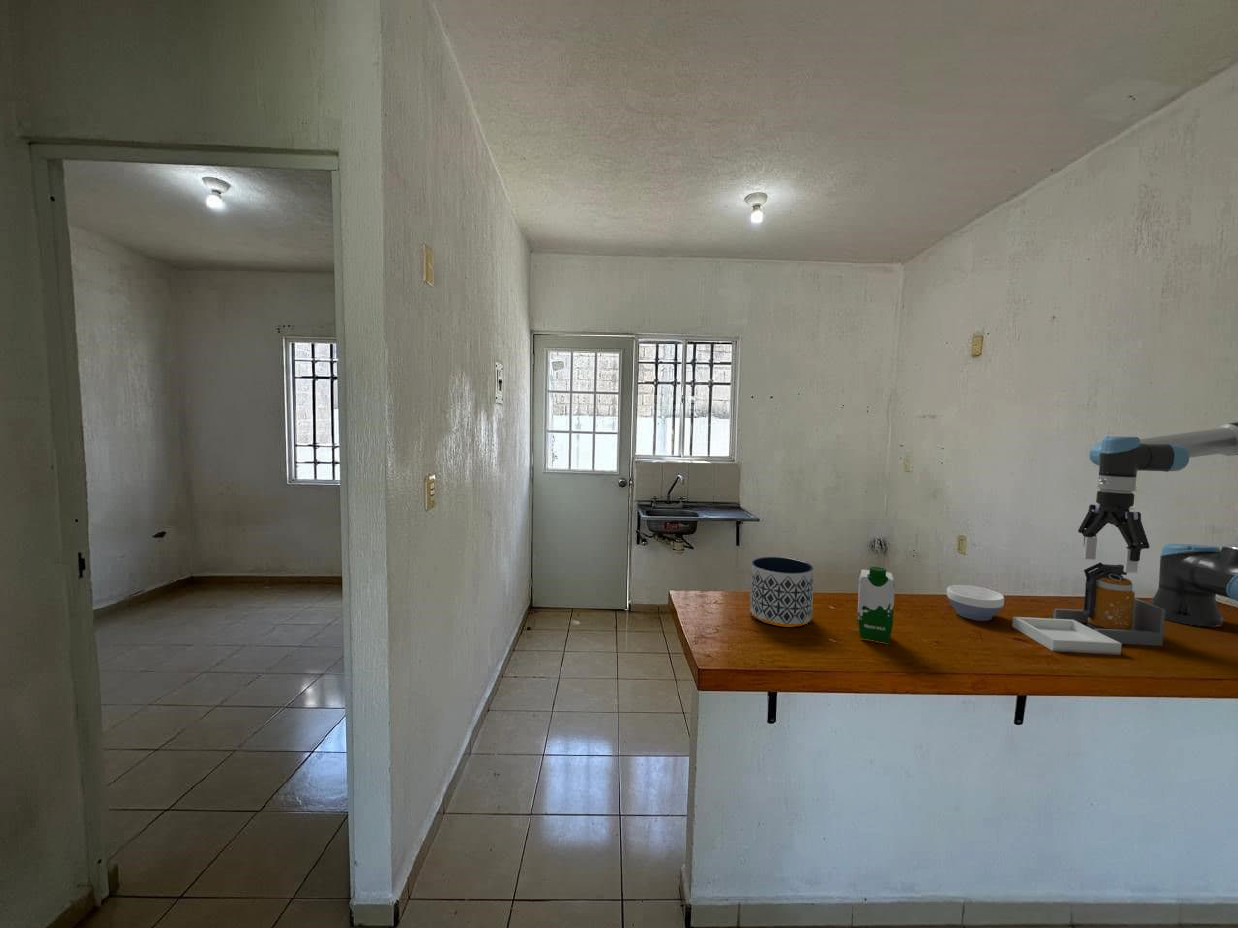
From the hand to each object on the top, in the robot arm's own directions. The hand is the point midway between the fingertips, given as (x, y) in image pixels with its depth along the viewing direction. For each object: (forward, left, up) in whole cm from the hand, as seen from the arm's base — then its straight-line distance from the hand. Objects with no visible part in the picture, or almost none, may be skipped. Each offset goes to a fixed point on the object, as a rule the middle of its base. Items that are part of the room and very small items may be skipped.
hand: (1108, 565), depth 141 cm
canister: (0, 0, -20) cm, 20 cm away
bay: (0, 0, -20) cm, 20 cm away
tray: (+16, +7, -20) cm, 26 cm away
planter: (+90, +1, -20) cm, 92 cm away
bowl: (+30, -8, -20) cm, 37 cm away
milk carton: (+67, +13, -20) cm, 71 cm away
